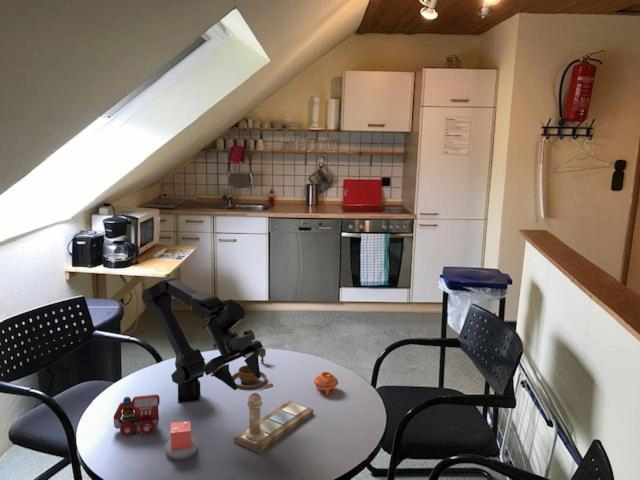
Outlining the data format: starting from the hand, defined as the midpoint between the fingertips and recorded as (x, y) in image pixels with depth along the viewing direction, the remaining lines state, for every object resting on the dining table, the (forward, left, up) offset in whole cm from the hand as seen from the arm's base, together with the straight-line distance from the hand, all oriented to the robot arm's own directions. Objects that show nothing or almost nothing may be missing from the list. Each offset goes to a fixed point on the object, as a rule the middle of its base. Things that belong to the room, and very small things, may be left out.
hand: (248, 383), depth 154 cm
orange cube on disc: (-19, -8, -14) cm, 24 cm away
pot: (+27, +17, -14) cm, 35 cm away
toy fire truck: (-31, +5, -14) cm, 34 cm away
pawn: (+1, -8, -12) cm, 14 cm away
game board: (+8, -1, -14) cm, 16 cm away
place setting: (+7, +31, -14) cm, 35 cm away
